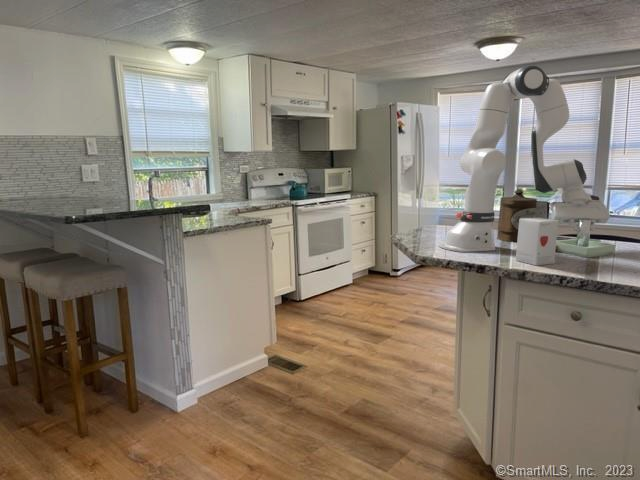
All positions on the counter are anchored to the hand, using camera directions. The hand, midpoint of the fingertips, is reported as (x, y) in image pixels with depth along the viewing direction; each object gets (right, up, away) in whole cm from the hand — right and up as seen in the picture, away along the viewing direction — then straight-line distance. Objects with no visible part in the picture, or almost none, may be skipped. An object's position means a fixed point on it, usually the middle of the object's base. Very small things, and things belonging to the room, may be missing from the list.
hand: (584, 230), depth 177 cm
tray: (0, -8, +2) cm, 8 cm away
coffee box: (0, -2, +38) cm, 38 cm away
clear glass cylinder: (0, -6, +2) cm, 6 cm away
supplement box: (-26, -11, -15) cm, 32 cm away
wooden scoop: (-14, -8, +2) cm, 16 cm away
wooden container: (-14, -4, +29) cm, 33 cm away
